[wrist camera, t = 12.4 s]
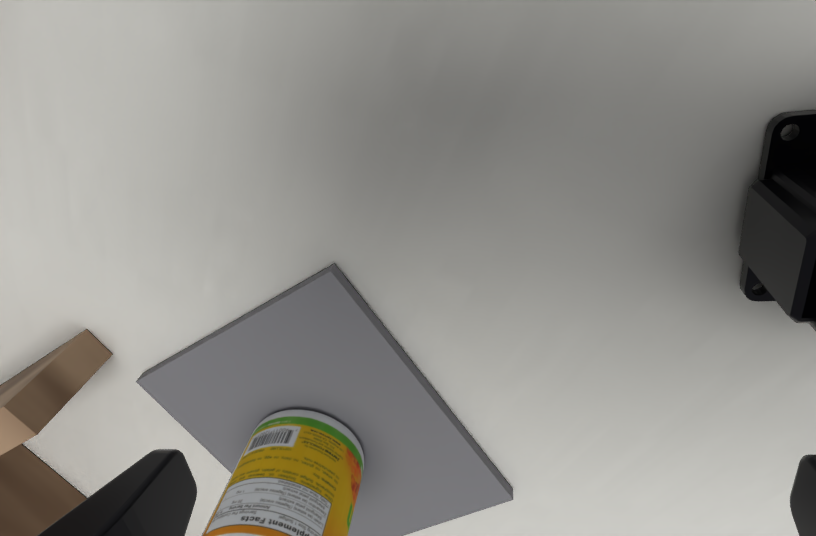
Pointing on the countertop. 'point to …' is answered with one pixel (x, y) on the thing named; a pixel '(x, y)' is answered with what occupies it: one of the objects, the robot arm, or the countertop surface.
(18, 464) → the brown walled open frame
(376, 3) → the countertop surface
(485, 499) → the mat
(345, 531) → the supplement bottle
